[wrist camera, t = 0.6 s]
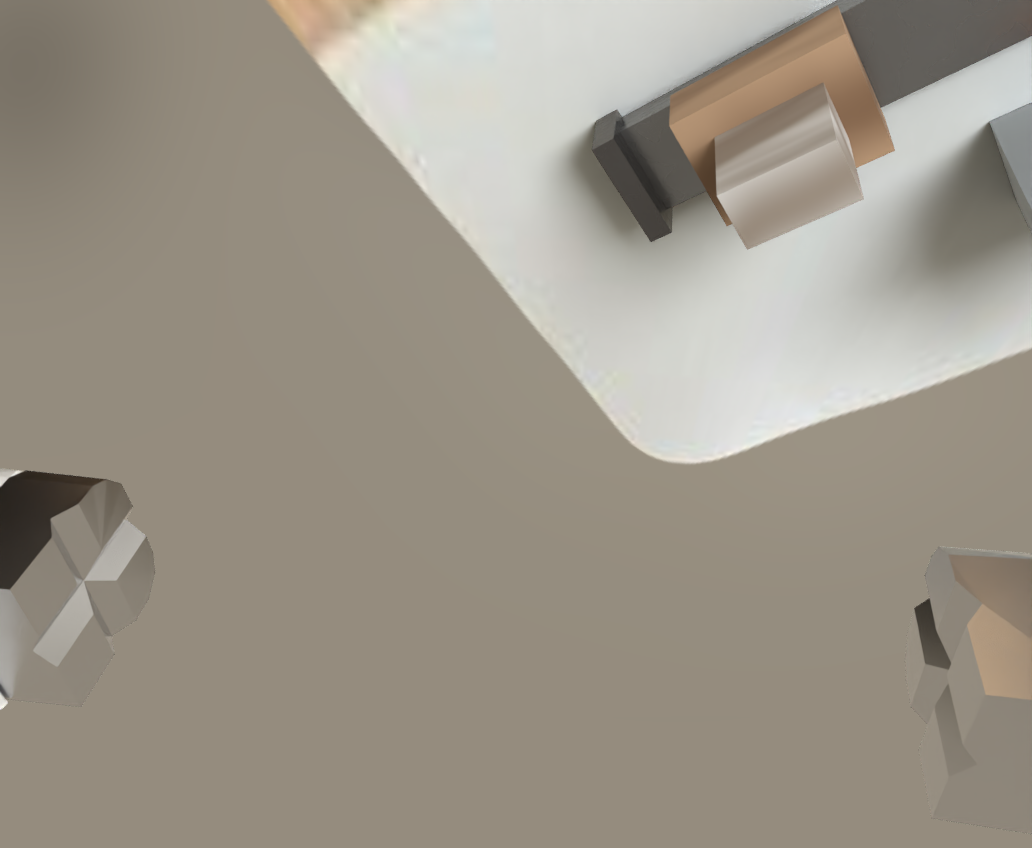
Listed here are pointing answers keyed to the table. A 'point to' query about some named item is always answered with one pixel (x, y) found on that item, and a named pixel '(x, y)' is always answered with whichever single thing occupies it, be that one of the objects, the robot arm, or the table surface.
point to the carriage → (783, 130)
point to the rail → (886, 60)
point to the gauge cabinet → (1017, 154)
